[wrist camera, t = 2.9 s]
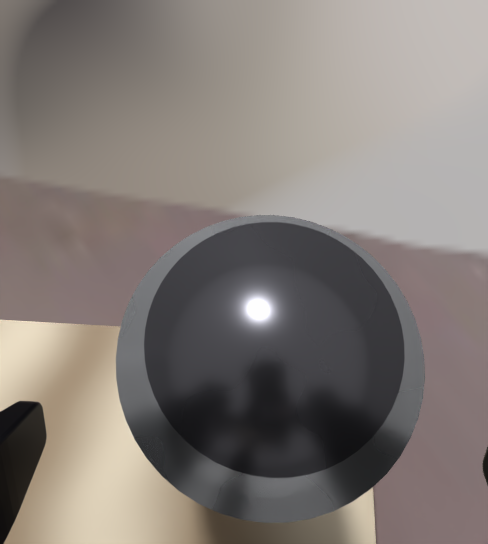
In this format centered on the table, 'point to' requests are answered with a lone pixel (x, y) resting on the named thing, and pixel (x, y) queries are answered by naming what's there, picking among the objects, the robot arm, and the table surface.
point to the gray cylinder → (270, 369)
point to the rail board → (119, 458)
